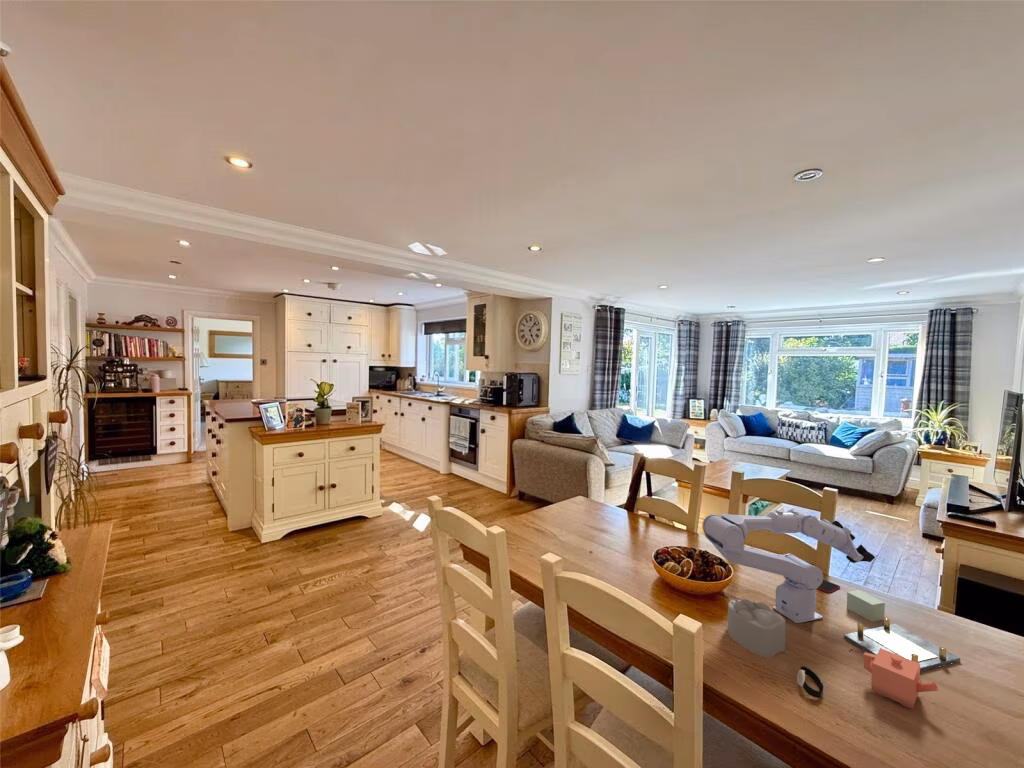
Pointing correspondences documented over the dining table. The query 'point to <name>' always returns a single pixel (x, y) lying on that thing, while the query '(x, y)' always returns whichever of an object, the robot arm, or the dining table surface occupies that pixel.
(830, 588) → the smartphone
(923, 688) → the pink cube teapot
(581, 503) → the dining table surface
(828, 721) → the dining table surface
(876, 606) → the board block
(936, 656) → the chassis
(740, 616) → the lumpy-topped squat cylinder
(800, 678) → the watch
